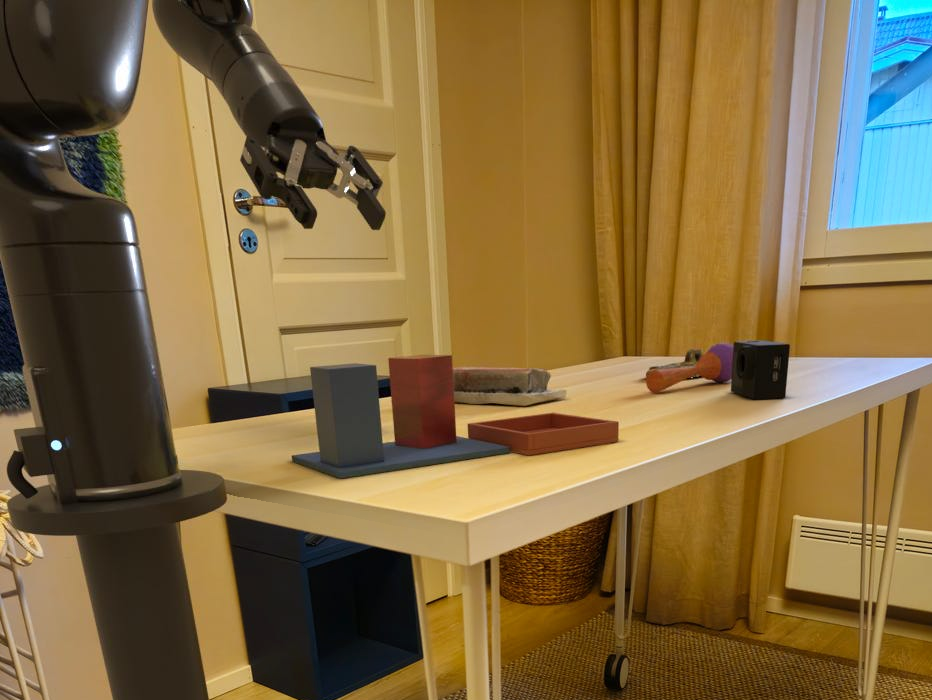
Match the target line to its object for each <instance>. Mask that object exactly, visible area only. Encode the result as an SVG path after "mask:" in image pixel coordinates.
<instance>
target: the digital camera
mask: <svg viewBox="0 0 932 700" xmlns="http://www.w3.org/2000/svg"><path fill="white" fill-rule="evenodd" d="M733 346H734V347H733V363H732V379H731V380H730V393H734V394H737V395H739V396H742V397H745V398H749V399H752V400H772V399H773V400H775V399H785V398H786V395H787V385H788V372H789V363H790V362H789V360H790V350H791V344H789V343H785V342H778V341H770V340H745V341H744V340H743V341H734V342H733Z"/></svg>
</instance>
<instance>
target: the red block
mask: <svg viewBox="0 0 932 700" xmlns="http://www.w3.org/2000/svg"><path fill="white" fill-rule="evenodd" d="M387 360H388V373H389V374H388V375H389V385H390V396H391V397H390V398H391V409H392V410H391V413H392V423H393V435H394V437H393V438H394V442H395V445H399V446H406V447H414V448H421V449H425V448H430V447H436V446H441V445H446V444H451V443H456V442H457V440H456V436H457V424H456V423H457V422H456V406H455V405H456V403H455V402H454V383H453V368H454V366H453V365H454V364H453V355H452V354H415V355H405V356H404V355H403V356H396V357H388V359H387Z"/></svg>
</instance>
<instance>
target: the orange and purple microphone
mask: <svg viewBox="0 0 932 700" xmlns="http://www.w3.org/2000/svg"><path fill="white" fill-rule="evenodd" d="M733 347H734V345H733V344H731V343H729V342H719V343H716V344H714V345H713V346H710V347H709V349H708V350H707V352H705V353H704V354H703V356H702V357H701V358H700V360H699V361H698V363H697V364H696V366H695V367H683V368H671V369H659V370H652V371H650V372H649V373H648V374H647V377H646V376H645V385H646V387H647V389H648V390H649V392H651V393H653V394H658V393H660V392H662V391H664V390H667V389H668V388H671V387H672V386H675V385H676V384H679V383H681V382H683V381H685V380H688V379H687V378H689V377H691V376H693V375H695V374H698V375H699V376H701V377H700V378H703V379H705V380H707V381H713V382H714V383H719V382H723V383H727V382H729V381H731V379H732V363H733ZM726 381H727V382H726Z"/></svg>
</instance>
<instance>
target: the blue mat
mask: <svg viewBox="0 0 932 700" xmlns="http://www.w3.org/2000/svg"><path fill="white" fill-rule="evenodd" d="M456 440H457V442H456V443H451V444H446V445H441V446H436V447H430V448H425V449H421V448H414V447H406V446H399V445H395V441H389V442H388V441H387V442H383V452H384V462H377V463H370V464H363V465H357V466H350V467H343V468H338V467H335V466H332V465H329V464H327V463H324V462H321V461H320V452H319V451H314V452H306V453H305V452H304V453H298V454H291V461H292V462H293V463H296V464H298V465H301V466H305V467H307V468H309V469H313V470H316V471H317V472H321V473H324V474H326V475H330V476H332V477H335V478H338V479H347V478H353V477H359V476H360V477H361V476H367V475H371V474H373V475H374V474H379V473H386V472H387V473H388V472H394V471H400V470H407V469H412V468H419V467H420V468H421V467H426V466H432V465H439V464H446V463H452V462H453V463H454V462H458V461H459V462H460V461H466V460H472V459H478V458H479V459H480V458H484V457H493V456H499V455H506V454H509V453H511V452H510V447H508V446H503V445H498V444H493V443H488V442H483V441H478V440H473V439H469V438H468V437H463V436H459V435H456Z"/></svg>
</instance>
